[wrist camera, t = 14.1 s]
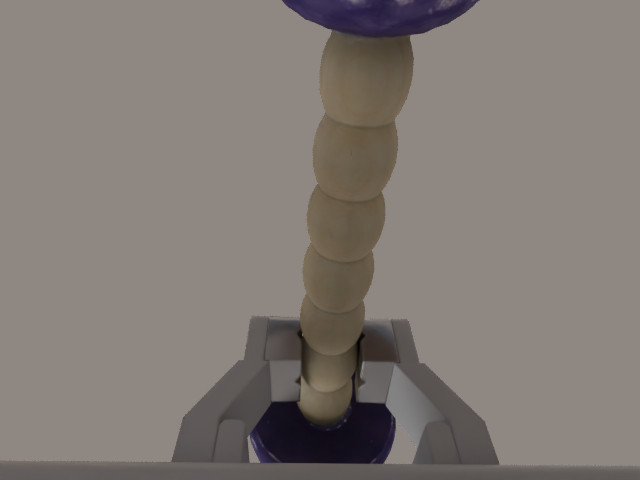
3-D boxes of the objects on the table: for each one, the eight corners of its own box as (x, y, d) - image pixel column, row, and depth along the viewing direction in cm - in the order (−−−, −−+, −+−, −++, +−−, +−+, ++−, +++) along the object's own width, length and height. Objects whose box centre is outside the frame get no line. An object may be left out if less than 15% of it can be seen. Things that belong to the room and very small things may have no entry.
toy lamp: (186, -114, 7) (242, 432, 17) (234, -140, 4) (270, 567, 14) (432, -95, 9) (355, 401, 19) (634, -101, 5) (407, 516, 15)
